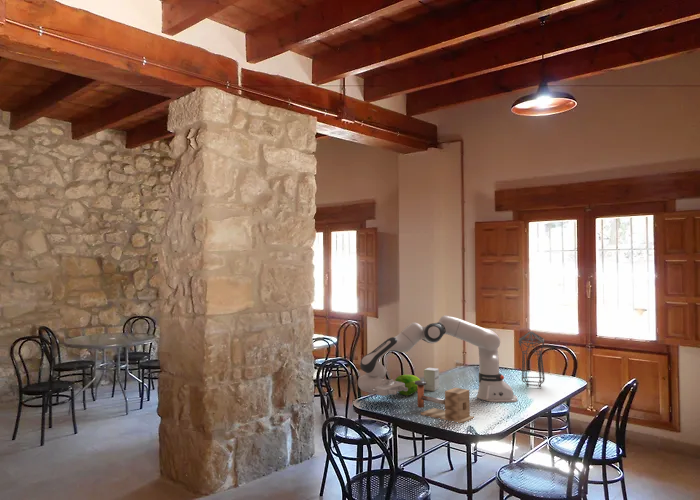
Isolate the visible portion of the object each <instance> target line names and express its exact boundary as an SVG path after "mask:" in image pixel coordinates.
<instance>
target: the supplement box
mask: <svg viewBox="0 0 700 500" xmlns="http://www.w3.org/2000/svg"><path fill="white" fill-rule="evenodd" d="M423 381H426V385H424V391H430V392H436V391H437V390H440V368H436V367H435V368H434V367H427V368H425V369H423Z"/></svg>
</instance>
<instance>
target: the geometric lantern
mask: <svg viewBox="0 0 700 500" xmlns="http://www.w3.org/2000/svg"><path fill="white" fill-rule="evenodd" d="M527 337H528V338H527ZM533 338H534V339H533ZM518 339H519V340H518V343H519V347H520V349H521V350H520V351H521V358H522V359H521V382H523V383H524V384H525V385H526V388H527V387H530V386H534V384H532V383H538V384H537V385H539V386H538V388H539V387H541V388H542V385H543V384H544V382H545V380H546V377H545V370H544V361H543V360H544V359H543V353H542V352H543V348H544V345H545V338H544V337H541V336H540V335H539V334H537V333H535V332H534V331H528V332H527V333H525V334H524V335H522V336H521V337H519V338H518ZM525 343H526V344H525ZM541 343H542V344H541ZM540 344H541V349H539V348H538V346H539V345H540ZM523 345H524V346H525V347H527V348H526V350H525V347H524V346H523ZM530 345H531V346H530ZM535 347H537V350H536V348H535ZM529 348H533V350H534V352H536V355H537V365H538V373H539V374H538V375H539V376H528V360H527V359H528V349H529ZM529 378H533V379H539V381H533V380H532V381H531V380H528V379H529ZM541 379H542V380H541ZM529 383H531V384H529Z"/></svg>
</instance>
